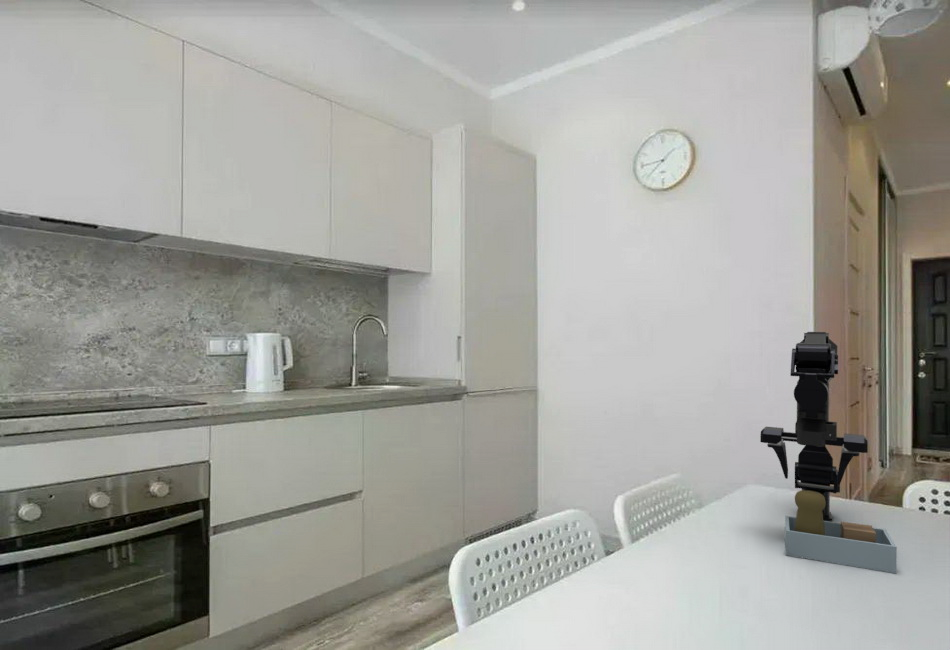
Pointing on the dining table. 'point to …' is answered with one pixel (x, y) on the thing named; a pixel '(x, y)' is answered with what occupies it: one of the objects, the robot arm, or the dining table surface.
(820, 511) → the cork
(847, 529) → the walnut cube
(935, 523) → the dining table surface
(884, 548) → the tote
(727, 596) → the dining table surface
